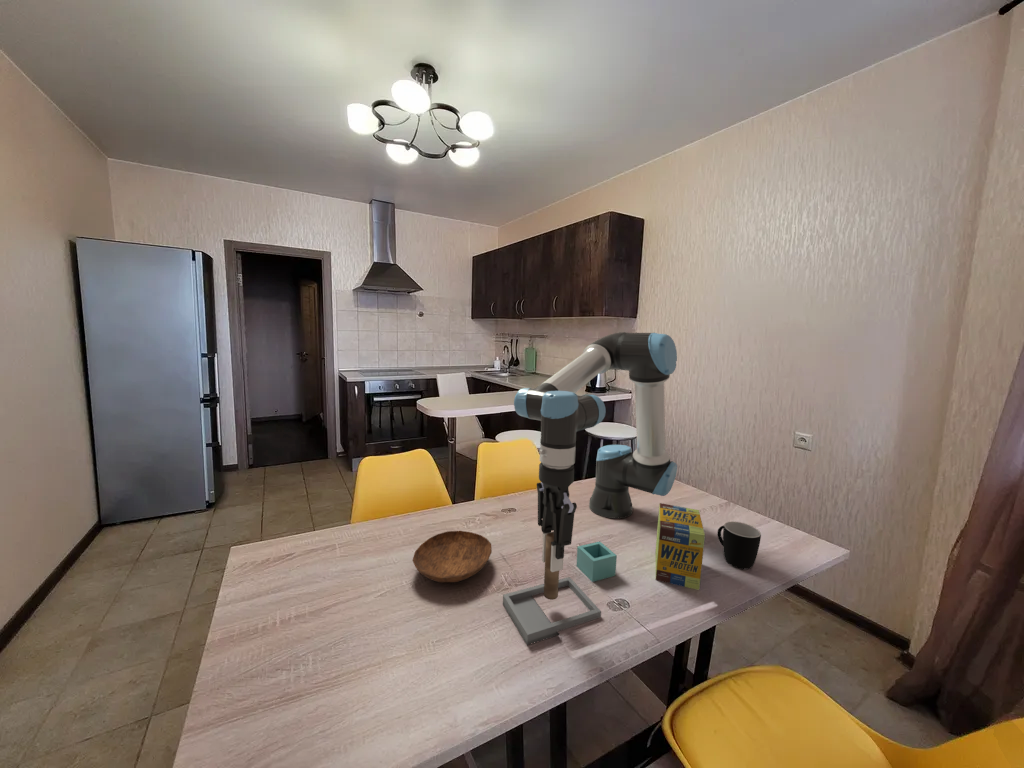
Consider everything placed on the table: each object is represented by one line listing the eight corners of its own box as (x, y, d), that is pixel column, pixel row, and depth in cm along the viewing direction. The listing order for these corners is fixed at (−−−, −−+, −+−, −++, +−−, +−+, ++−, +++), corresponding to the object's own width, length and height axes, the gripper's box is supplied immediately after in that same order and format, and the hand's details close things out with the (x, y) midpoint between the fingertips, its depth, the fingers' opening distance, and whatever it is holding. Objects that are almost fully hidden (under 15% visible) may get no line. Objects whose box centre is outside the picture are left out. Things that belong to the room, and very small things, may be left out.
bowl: (502, 554, 112) (502, 538, 111) (469, 604, 91) (469, 585, 90) (441, 540, 118) (441, 525, 117) (397, 585, 97) (396, 566, 97)
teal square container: (576, 569, 105) (577, 546, 104) (598, 563, 108) (599, 541, 107) (591, 585, 99) (593, 561, 98) (615, 579, 102) (616, 555, 101)
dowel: (541, 592, 89) (543, 534, 87) (553, 588, 90) (556, 531, 89) (547, 601, 86) (550, 541, 84) (560, 597, 88) (563, 538, 86)
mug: (764, 569, 108) (769, 534, 106) (739, 575, 105) (743, 539, 103) (728, 546, 119) (731, 514, 118) (704, 551, 116) (708, 518, 115)
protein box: (654, 584, 100) (659, 526, 98) (655, 552, 115) (659, 502, 112) (699, 594, 97) (705, 535, 95) (694, 560, 111) (699, 508, 109)
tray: (502, 604, 91) (503, 594, 91) (569, 585, 99) (569, 576, 98) (527, 645, 80) (527, 634, 79) (600, 621, 87) (601, 611, 87)
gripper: (524, 454, 90) (521, 549, 93) (561, 479, 75) (555, 591, 79) (553, 450, 93) (549, 543, 96) (593, 474, 78) (587, 582, 82)
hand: (552, 564), depth 87 cm, fingers closed on dowel, 3 cm apart
